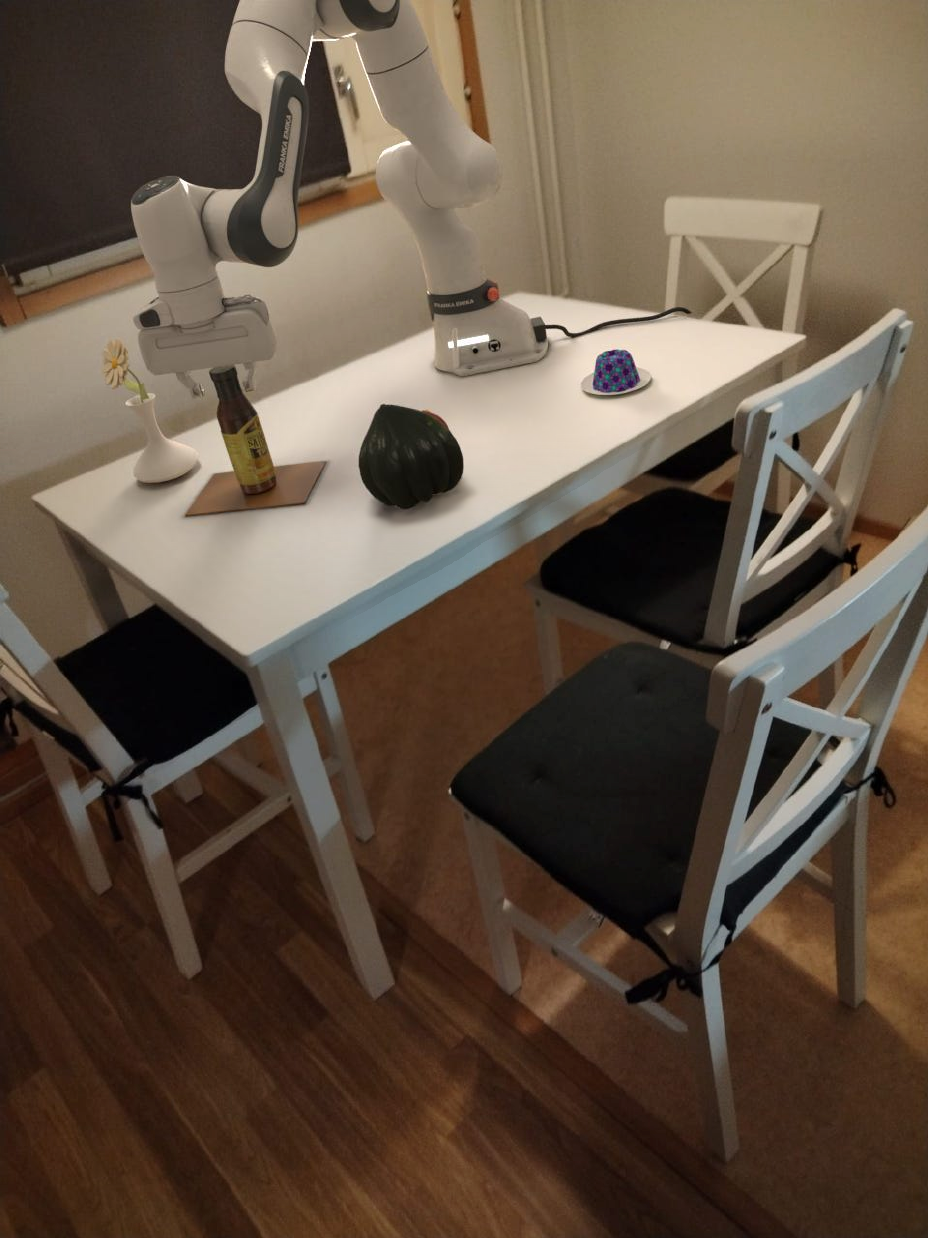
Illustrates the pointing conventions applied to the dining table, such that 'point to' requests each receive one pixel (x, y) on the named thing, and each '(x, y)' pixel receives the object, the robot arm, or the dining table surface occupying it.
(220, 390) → the sauce bottle
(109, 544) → the dining table surface
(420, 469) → the squash
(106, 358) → the flower in vase
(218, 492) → the cork mat
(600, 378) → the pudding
